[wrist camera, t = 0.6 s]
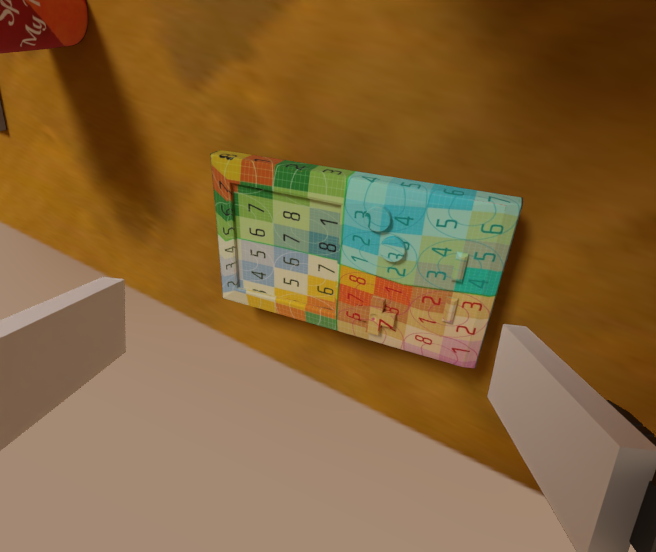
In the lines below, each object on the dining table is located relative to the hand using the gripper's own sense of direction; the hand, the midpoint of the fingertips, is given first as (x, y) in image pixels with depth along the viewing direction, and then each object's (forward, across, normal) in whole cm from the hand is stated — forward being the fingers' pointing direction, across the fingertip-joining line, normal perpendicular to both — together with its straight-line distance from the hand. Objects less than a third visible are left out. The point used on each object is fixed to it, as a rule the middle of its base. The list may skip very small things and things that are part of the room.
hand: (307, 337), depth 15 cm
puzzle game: (+18, +2, +1) cm, 19 cm away
